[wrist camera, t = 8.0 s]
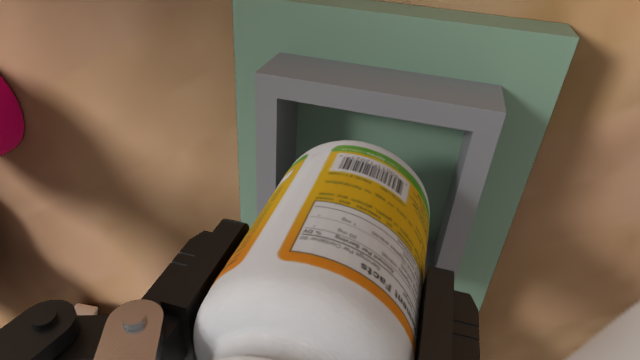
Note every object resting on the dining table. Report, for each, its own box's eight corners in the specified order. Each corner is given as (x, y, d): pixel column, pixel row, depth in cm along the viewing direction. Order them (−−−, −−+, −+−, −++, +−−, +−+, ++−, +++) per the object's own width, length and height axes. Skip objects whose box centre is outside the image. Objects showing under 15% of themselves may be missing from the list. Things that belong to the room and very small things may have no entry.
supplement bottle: (317, 269, 19) (205, 545, 11) (261, 156, 16) (68, 395, 8) (449, 251, 16) (433, 583, 8) (404, 117, 14) (327, 392, 6)
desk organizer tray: (252, -15, 18) (134, 32, 12) (568, 23, 16) (637, 107, 10) (257, 319, 29) (197, 440, 23) (447, 370, 27) (441, 522, 20)
